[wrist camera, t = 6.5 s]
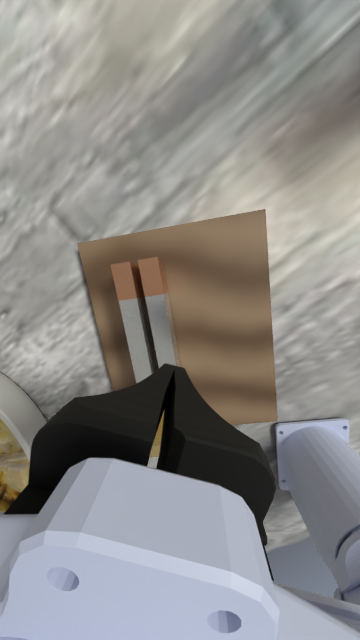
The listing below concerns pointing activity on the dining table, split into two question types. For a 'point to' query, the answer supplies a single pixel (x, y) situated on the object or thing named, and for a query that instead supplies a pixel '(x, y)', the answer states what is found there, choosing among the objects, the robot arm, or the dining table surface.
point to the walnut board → (200, 308)
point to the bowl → (15, 439)
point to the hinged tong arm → (159, 310)
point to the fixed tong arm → (135, 319)
